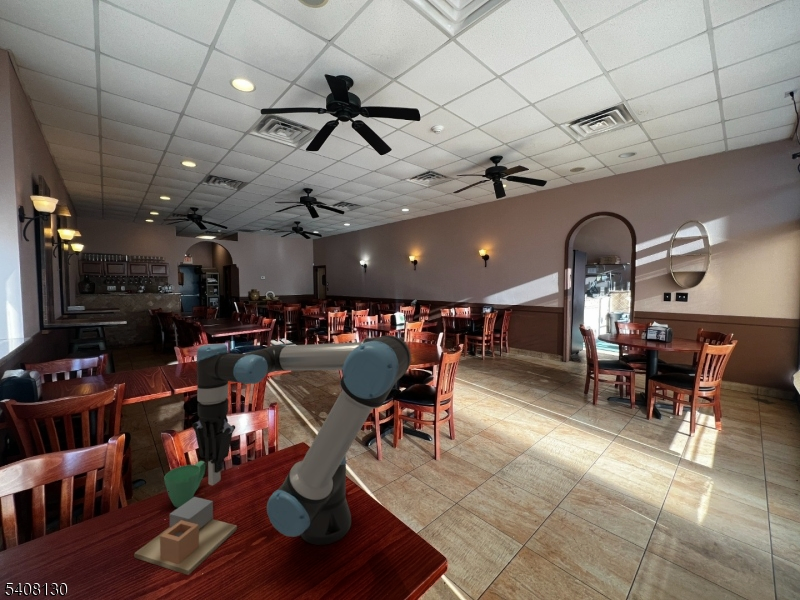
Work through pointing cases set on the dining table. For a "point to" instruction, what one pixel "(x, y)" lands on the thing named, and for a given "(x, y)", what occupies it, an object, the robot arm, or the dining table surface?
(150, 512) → the dining table surface
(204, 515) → the cover
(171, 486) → the green rounded tapered part
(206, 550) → the housing board
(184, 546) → the orange open-topped box
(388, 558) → the dining table surface
